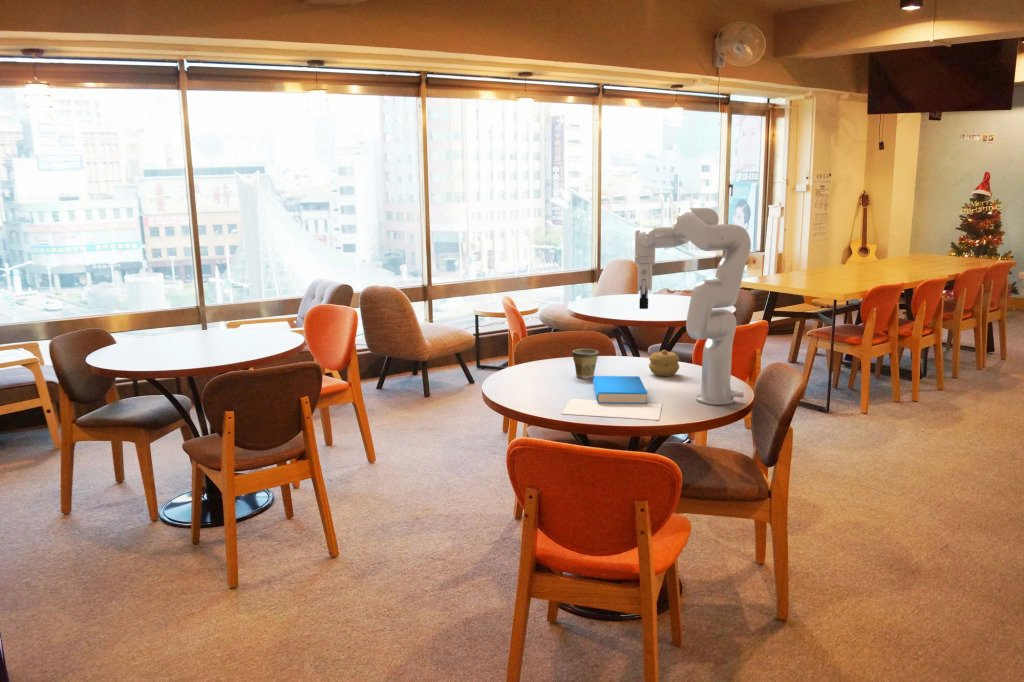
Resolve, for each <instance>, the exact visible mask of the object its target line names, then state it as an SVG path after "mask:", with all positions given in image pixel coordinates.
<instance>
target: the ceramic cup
mask: <svg viewBox="0 0 1024 682" xmlns="http://www.w3.org/2000/svg"><path fill="white" fill-rule="evenodd" d="M598 356H599V351H598V350H596V349H592V348H577V349H574V350H572V359H573V362H574V367H575V374H576V377H577V378H578V377H581V378H580V379H591V378H590V377H592V378H594V377H595V369H596V366H597V361H598Z"/></svg>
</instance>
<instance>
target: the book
mask: <svg viewBox="0 0 1024 682" xmlns="http://www.w3.org/2000/svg"><path fill="white" fill-rule="evenodd" d="M592 384H593V388H594V391H595V396H596V400H597V401H598V404H647V403H648V402H647V395H648V391H647V389H646V388H645V385H644V383H643V381H642V380H641V377H640V376H639V375H638V376H632V375H631V376H630V375H626V376H625V375H624V376H623V375H622V376H620V375H613V376H612V375H594V376H593V379H592Z"/></svg>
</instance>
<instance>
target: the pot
mask: <svg viewBox="0 0 1024 682" xmlns="http://www.w3.org/2000/svg"><path fill="white" fill-rule="evenodd" d="M649 361H650V363H648V368H649V370H650V372H651V373H652V374H654V375H655V376H660V377H671V376H673V375H675V374H676V373H678V370H679V369H680V365H679V361H680V357H679V356H678V354H676V353H675V352H673V351H668V350H666V349H663V350H660V351H659V350H658V351H655V352H653V353H651V355H650V356H649Z"/></svg>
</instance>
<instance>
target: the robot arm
mask: <svg viewBox="0 0 1024 682" xmlns="http://www.w3.org/2000/svg"><path fill="white" fill-rule="evenodd" d="M719 220H720V219H719V215H718V213H717V212H716V210H714V209H712V208H708V207H688V208H684V209H682V210H681V211H680V212H679V213H678V214H677V216H676V219H675V220H674V222H673V225H672V226H671V227H670V226H669V227H667V226H665V227H664V226H663V227H661V226H659V227H637V228H636V230H635V233H634V235H635V236H634V237H635V238H634V265H636V266H637V288H638V291H639V293H640V295H639V309H640V310H648V309H649V292H651V291H652V289H653V266H654V265H655V263H656V249H665V248H667V249H668V248H669V249H671V248H676V247H678V246H679V247H680V246H684V245H685V244H687V243H689V242H691V243H692V245H694V246H695V247H696V248H698V249H699V250H701V251H705V252H716V251H718V252H719V251H726V253H725V254H724V255H723V256H722V257H721V259H720V260H719V262H718V264H717V268H716V272H715V276H714V278H713V279H704V280H701V281H699V282H697V284H695V285H694V288H693V289H692V291H691V295H690V296H691V297H690V300H689V305H688V306H689V307H688V310H687V316H686V321H685V322H686V323H685V327H686V328H685V329H686V331H687V335H688V336H689V338H691V339H693V340H696V341H697V340H699V341H701V340H706V341H705V342H704V345H703V349H702V350H703V351H702V363H701V366H702V367H701V387H700V388H701V389H700V391H701V392H700V393H699V394H697V395H696V398H695V399H696V400H697V402H700V403H703V404H706V405H713V406H714V405H715V406H717V405H718V406H723V405H731V404H734V402H735V398H744V396H745V392H744V391H740V390H733V389H732V386H731V375H732V357H733V356H732V355H733V343H734V338H735V334H736V329H737V324H738V323H737V318H736V316H735V314H734V313H733V312H732V311H731V310H729V309H724V308H729V307H730V308H731V307H732V306H734V305H736V303H737V301H738V297H739V293H740V292H741V291H740V290H741V286H742V281H743V276H744V271H745V267H746V264H747V262H748V259H749V257H750V253H751V248H752V244H751V243H752V242H751V238H750V237H751V236H750V234H749V232H748V231H747V230H746V228H744V227H743V226H741V225H738V224H732V223H731V224H729V223H728V224H727V223H725V224H719V222H720V221H719Z"/></svg>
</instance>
